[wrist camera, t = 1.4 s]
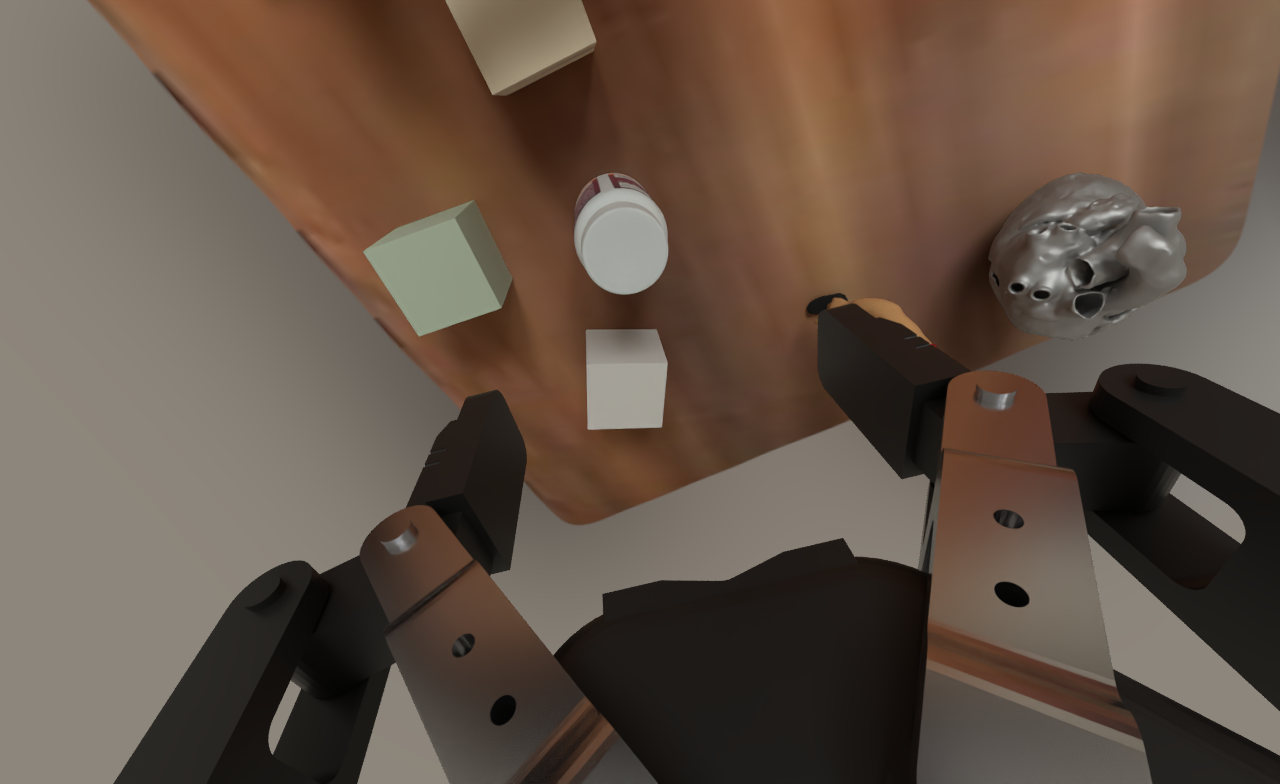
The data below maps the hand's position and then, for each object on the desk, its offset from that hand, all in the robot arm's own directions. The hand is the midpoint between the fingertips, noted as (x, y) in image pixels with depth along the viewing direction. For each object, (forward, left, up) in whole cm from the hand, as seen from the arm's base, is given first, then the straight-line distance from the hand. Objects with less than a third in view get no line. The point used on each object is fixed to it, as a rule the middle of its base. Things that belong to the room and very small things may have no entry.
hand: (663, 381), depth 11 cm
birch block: (-10, -2, -20) cm, 22 cm away
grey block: (+10, -2, -20) cm, 22 cm away
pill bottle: (0, 0, -20) cm, 20 cm away
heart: (+8, +26, -20) cm, 34 cm away
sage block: (0, -10, -20) cm, 22 cm away
